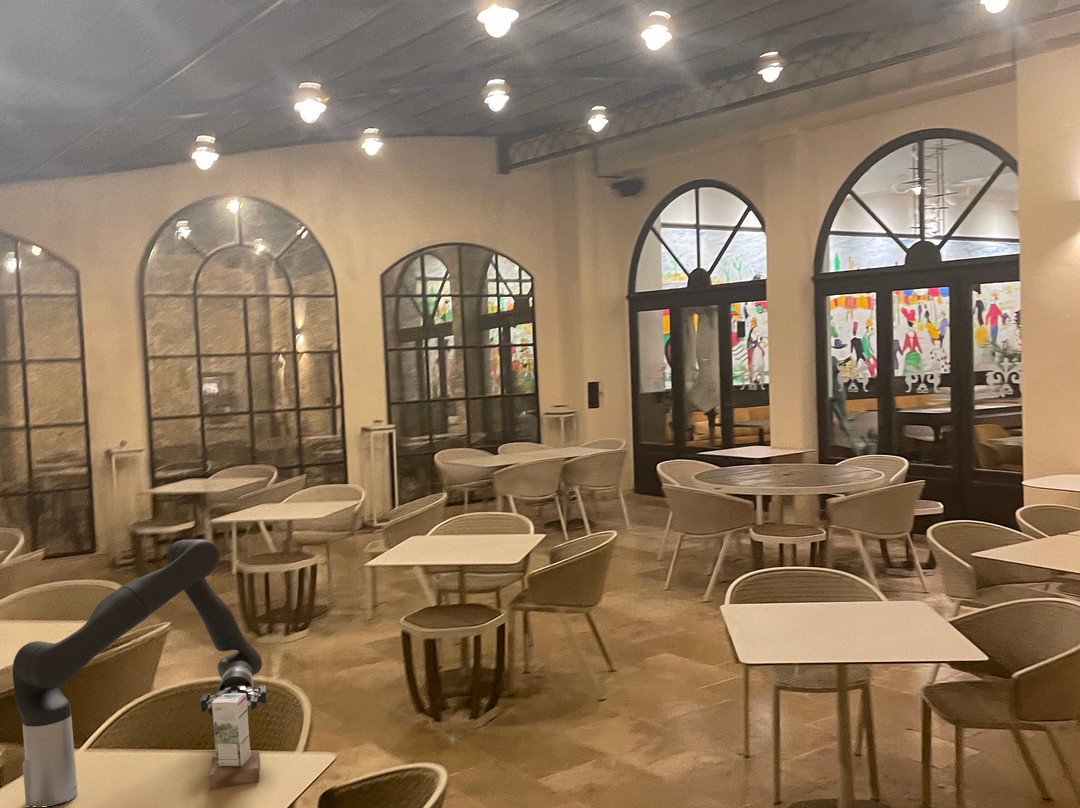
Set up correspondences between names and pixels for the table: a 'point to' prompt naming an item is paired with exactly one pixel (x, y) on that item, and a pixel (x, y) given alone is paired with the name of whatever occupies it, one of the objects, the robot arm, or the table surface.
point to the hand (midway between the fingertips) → (232, 708)
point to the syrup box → (231, 730)
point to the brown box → (235, 772)
